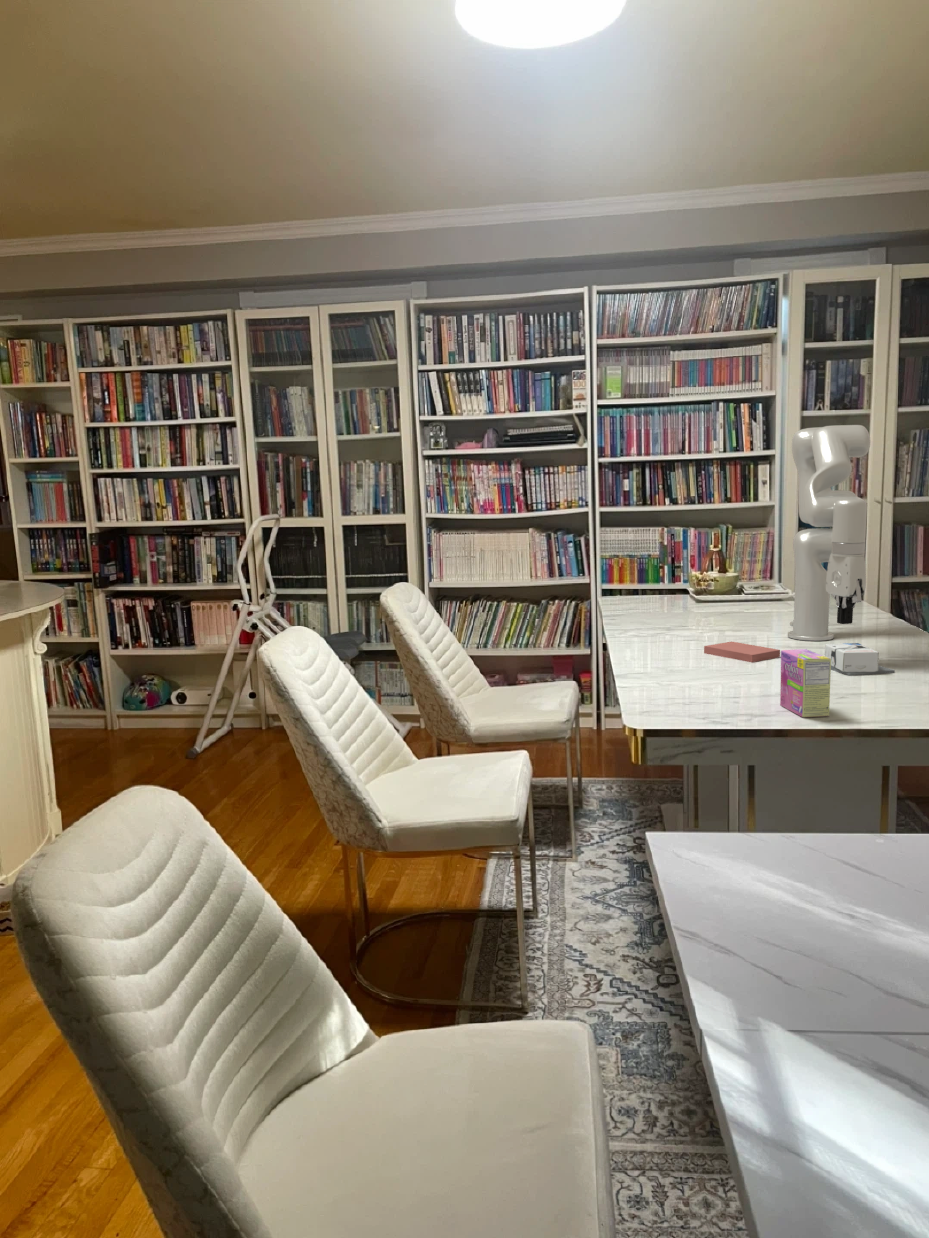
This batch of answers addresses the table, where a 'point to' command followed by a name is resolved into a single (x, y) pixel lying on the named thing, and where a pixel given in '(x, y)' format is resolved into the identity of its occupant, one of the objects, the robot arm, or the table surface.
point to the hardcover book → (742, 651)
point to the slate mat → (880, 671)
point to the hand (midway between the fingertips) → (844, 623)
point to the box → (805, 682)
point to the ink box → (852, 657)
